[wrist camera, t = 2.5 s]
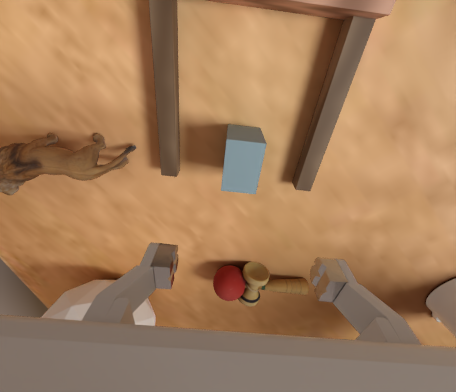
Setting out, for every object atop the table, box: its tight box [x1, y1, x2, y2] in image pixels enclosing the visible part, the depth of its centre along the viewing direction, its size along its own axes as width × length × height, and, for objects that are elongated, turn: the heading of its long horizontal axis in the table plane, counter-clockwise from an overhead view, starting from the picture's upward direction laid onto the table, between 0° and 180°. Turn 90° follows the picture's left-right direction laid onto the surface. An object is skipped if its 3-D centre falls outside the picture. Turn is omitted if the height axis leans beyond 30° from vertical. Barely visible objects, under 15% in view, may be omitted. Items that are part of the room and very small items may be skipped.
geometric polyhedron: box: [41, 280, 156, 326], centre depth 37 cm, size 19×20×20 cm
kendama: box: [213, 262, 309, 306], centre depth 39 cm, size 8×6×18 cm
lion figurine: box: [0, 133, 136, 195], centre depth 24 cm, size 15×5×9 cm, turn 96°
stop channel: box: [149, 0, 396, 191], centre depth 22 cm, size 20×21×4 cm
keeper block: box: [221, 124, 266, 194], centre depth 25 cm, size 4×6×6 cm, turn 174°
